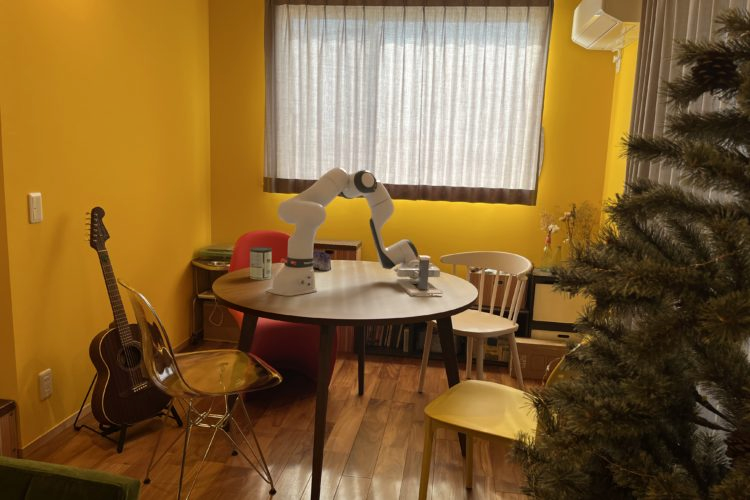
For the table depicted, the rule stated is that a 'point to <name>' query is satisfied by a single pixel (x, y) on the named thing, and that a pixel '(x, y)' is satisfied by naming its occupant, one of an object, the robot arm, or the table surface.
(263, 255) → the coffee can
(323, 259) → the geode
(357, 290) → the table surface
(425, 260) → the fader tab
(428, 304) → the table surface
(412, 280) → the console
